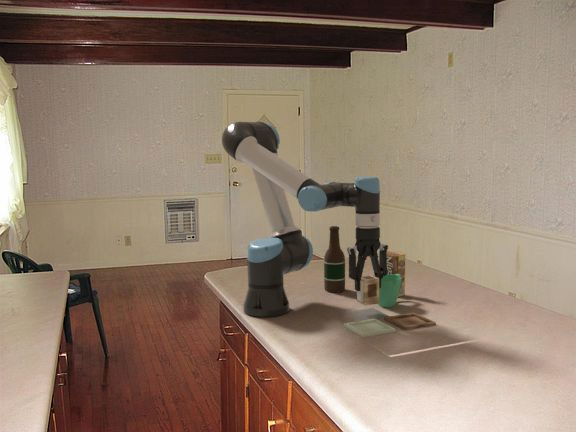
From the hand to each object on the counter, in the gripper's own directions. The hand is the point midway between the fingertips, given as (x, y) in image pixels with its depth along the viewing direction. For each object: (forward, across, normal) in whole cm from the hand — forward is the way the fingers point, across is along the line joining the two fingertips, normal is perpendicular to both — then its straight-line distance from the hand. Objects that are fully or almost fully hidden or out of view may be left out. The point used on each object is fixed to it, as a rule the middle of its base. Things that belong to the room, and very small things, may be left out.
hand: (368, 299), depth 179 cm
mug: (+6, +13, +8) cm, 16 cm away
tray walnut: (+6, +7, -12) cm, 15 cm away
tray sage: (+6, -7, -12) cm, 15 cm away
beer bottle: (+6, +5, +33) cm, 34 cm away
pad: (+5, 0, 0) cm, 5 cm away
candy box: (+6, +21, +19) cm, 29 cm away
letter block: (+1, 0, 0) cm, 1 cm away
